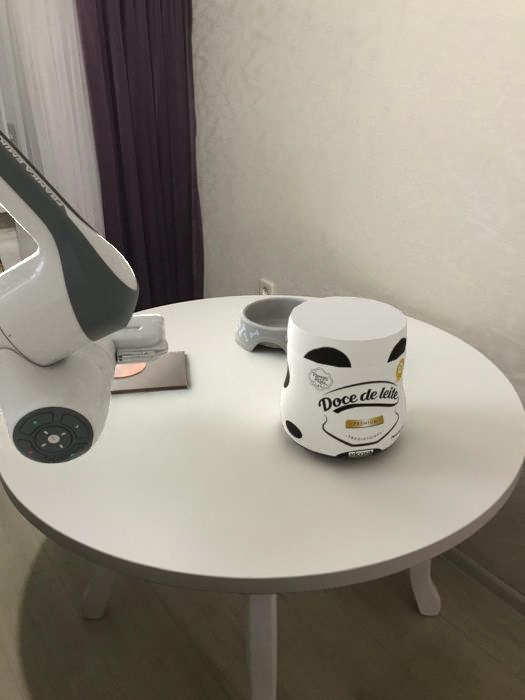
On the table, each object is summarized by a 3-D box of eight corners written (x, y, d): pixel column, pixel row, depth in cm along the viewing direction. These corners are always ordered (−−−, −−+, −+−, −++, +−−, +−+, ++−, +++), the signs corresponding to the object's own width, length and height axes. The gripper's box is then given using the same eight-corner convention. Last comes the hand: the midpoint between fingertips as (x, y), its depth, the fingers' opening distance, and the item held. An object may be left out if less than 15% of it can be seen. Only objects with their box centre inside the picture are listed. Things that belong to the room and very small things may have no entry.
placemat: (60, 398, 93) (59, 394, 93) (71, 361, 104) (70, 357, 104) (187, 388, 96) (187, 384, 95) (184, 353, 107) (184, 350, 107)
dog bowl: (318, 362, 104) (320, 334, 102) (222, 348, 109) (221, 322, 107) (337, 326, 119) (339, 301, 116) (251, 315, 124) (251, 291, 121)
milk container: (359, 488, 73) (370, 358, 65) (254, 437, 83) (253, 319, 75) (424, 429, 85) (440, 313, 77) (325, 391, 95) (331, 285, 87)
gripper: (166, 331, 67) (166, 290, 80) (-22, 341, 65) (7, 297, 77) (170, 379, 70) (169, 333, 82) (-11, 391, 67) (16, 341, 80)
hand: (89, 316), depth 80 cm, fingers closed on can, 6 cm apart
